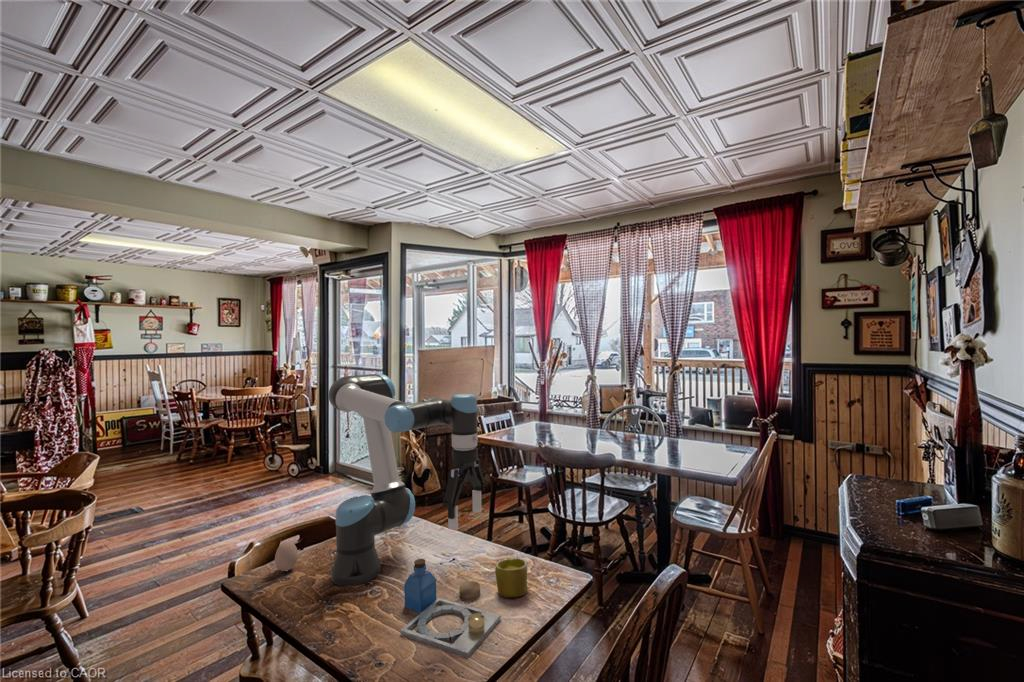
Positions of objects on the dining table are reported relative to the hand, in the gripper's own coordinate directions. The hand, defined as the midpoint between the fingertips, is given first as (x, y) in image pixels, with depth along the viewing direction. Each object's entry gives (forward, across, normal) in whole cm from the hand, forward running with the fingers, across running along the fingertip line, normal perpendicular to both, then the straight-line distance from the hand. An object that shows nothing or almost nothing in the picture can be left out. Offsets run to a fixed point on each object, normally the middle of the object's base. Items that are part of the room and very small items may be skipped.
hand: (465, 520), depth 129 cm
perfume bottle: (+22, -9, +9) cm, 26 cm away
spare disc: (+22, 0, -1) cm, 22 cm away
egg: (+23, -10, +62) cm, 67 cm away
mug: (+22, +8, -11) cm, 26 cm away
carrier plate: (+21, -15, -4) cm, 26 cm away
